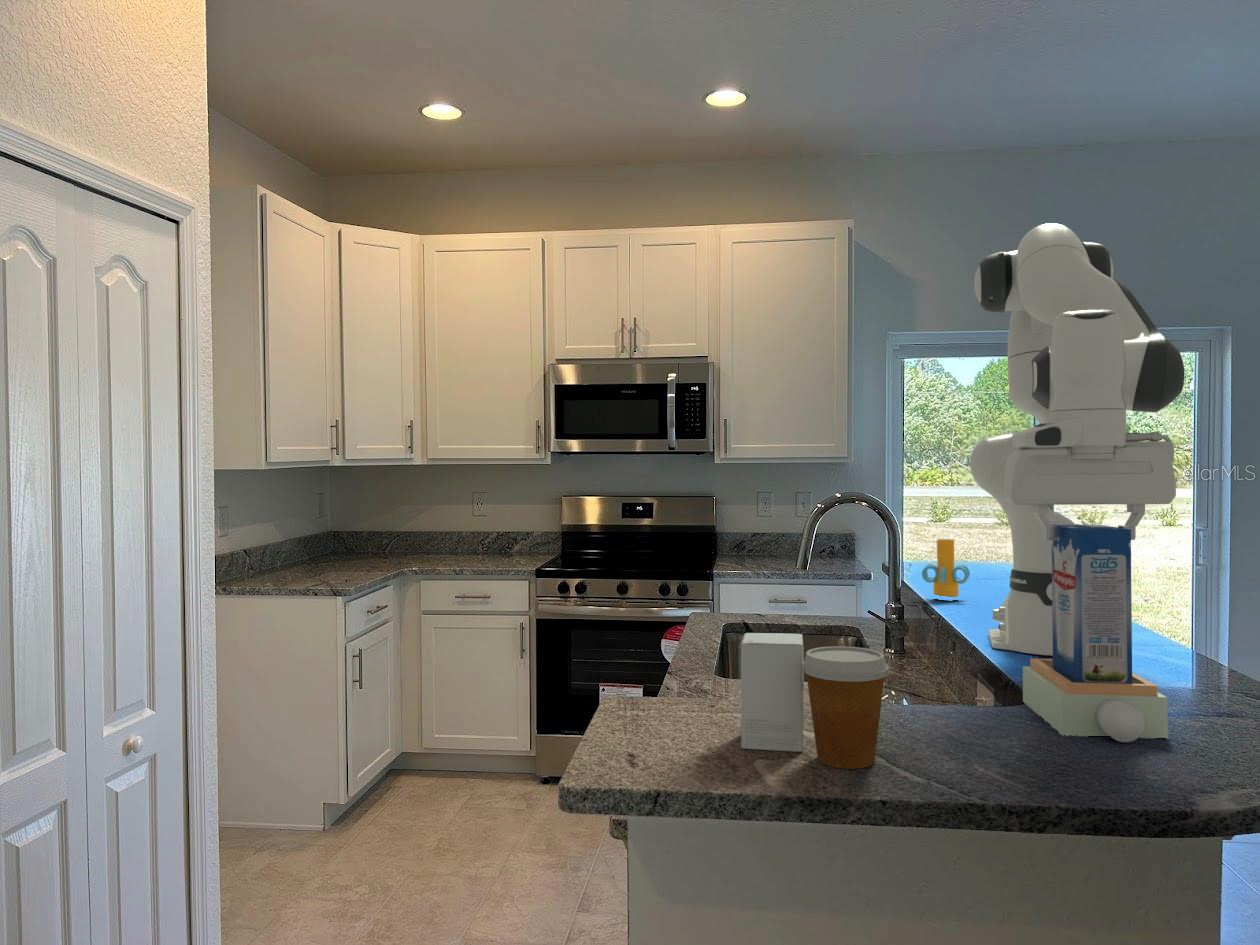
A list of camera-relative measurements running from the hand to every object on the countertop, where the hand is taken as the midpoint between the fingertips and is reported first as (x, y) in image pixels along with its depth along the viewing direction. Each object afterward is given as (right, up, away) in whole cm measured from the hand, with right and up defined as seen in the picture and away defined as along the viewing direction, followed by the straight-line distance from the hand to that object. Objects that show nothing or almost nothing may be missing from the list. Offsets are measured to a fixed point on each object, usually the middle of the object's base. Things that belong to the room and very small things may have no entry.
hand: (1088, 539), depth 116 cm
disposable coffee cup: (-35, -24, -15) cm, 45 cm away
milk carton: (0, -19, 0) cm, 19 cm away
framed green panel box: (0, -23, -2) cm, 23 cm away
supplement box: (-42, -24, -8) cm, 49 cm away
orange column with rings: (+19, -23, +105) cm, 110 cm away
